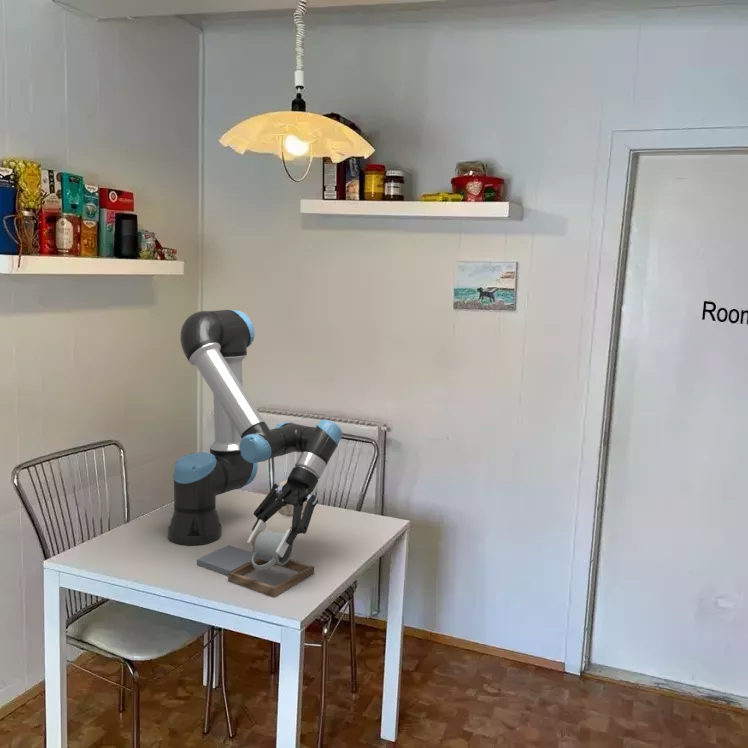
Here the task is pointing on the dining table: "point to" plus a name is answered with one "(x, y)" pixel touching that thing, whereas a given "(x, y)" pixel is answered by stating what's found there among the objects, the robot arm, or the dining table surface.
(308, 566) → the walnut frame
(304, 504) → the teacup with lid
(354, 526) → the dining table surface
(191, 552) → the dining table surface
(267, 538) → the ceramic mug
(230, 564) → the grey board
